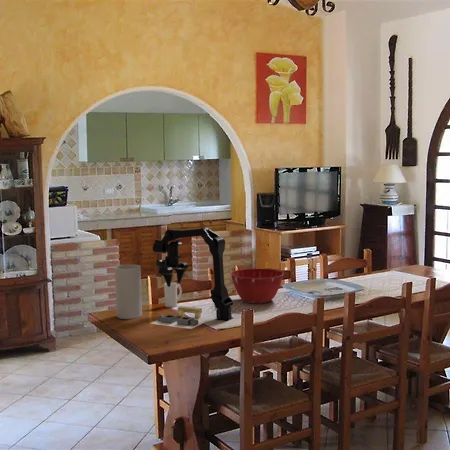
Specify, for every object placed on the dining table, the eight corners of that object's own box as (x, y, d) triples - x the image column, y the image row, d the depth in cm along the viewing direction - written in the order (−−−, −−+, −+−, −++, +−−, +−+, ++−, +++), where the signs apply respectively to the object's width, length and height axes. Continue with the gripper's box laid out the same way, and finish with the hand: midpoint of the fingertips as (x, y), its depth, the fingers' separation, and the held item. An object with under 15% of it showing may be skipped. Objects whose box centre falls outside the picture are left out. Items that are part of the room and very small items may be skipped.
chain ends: (200, 323, 297) (199, 318, 297) (193, 326, 292) (193, 321, 291) (162, 318, 307) (162, 313, 307) (155, 321, 302) (155, 316, 301)
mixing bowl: (258, 292, 361) (258, 265, 359) (295, 300, 339) (294, 272, 337) (220, 300, 343) (219, 272, 341) (256, 310, 321) (255, 280, 319)
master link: (202, 318, 307) (201, 308, 307) (198, 319, 305) (198, 309, 304) (181, 315, 313) (180, 305, 313) (177, 317, 310) (177, 307, 310)
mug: (168, 308, 329) (167, 285, 328) (162, 305, 335) (161, 283, 333) (185, 305, 335) (184, 282, 333) (179, 302, 340) (178, 280, 339)
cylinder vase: (129, 321, 305) (127, 270, 302) (111, 317, 313) (109, 267, 310) (147, 315, 315) (145, 266, 312) (129, 312, 323) (127, 263, 320)
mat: (205, 322, 300) (205, 321, 299) (191, 329, 288) (191, 328, 288) (165, 317, 310) (165, 316, 310) (149, 324, 299) (149, 323, 299)
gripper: (169, 250, 326) (170, 280, 328) (148, 255, 310) (149, 287, 312) (188, 251, 321) (189, 281, 323) (167, 257, 305) (168, 289, 306)
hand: (173, 284), depth 316 cm, fingers open, 9 cm apart
